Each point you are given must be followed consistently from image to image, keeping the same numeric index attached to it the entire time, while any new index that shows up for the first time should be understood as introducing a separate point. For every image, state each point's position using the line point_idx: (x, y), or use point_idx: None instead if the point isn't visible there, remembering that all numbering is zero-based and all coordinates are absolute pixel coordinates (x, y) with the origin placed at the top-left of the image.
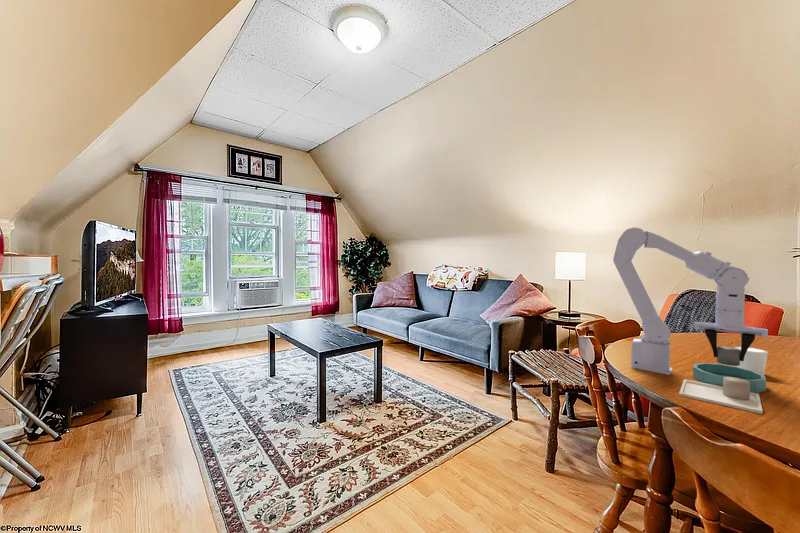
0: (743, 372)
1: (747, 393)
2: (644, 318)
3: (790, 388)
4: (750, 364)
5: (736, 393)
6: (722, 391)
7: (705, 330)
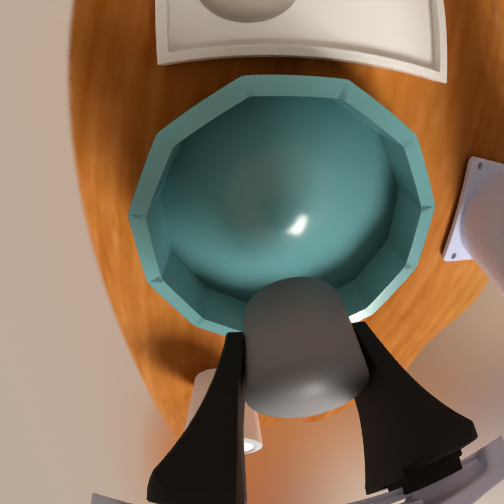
0: (230, 316)
1: None
2: None
3: (118, 310)
4: None
5: None
6: (303, 15)
7: (458, 459)
